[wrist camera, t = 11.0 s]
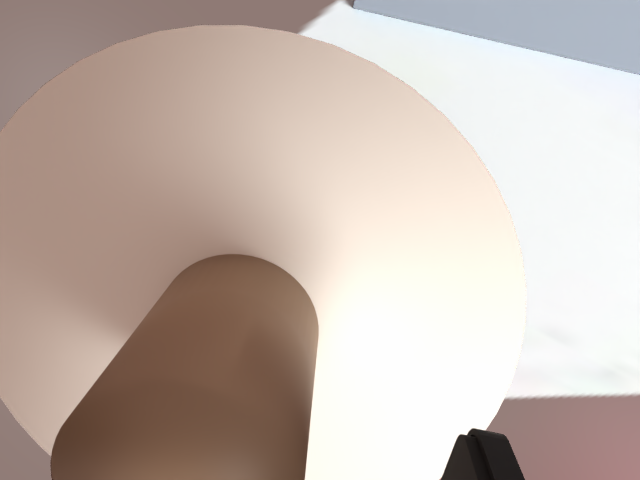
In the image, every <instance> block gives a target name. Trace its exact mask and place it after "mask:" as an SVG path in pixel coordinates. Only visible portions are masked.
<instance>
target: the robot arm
mask: <svg viewBox="0 0 640 480" xmlns="http://www.w3.org/2000/svg"><path fill="white" fill-rule="evenodd" d="M441 480H525V479H524V477H523V474H522V472H521V469H520V467H519V464H518V462H517V460H516V457H515V455H514V453H513V450H512V448H511V445H510V443H509V441H508V439H507V437H506V436H505V435H503V434H499V433H495V432H490V431H485V430H480V429H476V428H472V429H471V430H470V431H469V432H468V434H467V435H464V434H460V435H459V436H458V437H457V439H456V442H455V444H454V447H453V449H452V452H451V455H450V457H449V460H448V462H447V465H446V468H445V470H444V473H443V475H442V478H441Z"/></svg>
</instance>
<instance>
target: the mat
mask: <svg viewBox="0 0 640 480" xmlns="http://www.w3.org/2000/svg"><path fill="white" fill-rule="evenodd" d="M353 8H354V9H358V10H363V11H367V12H371V13H376V14H380V15H384V16H389V17H393V18H397V19H401V20H406V21H410V22H414V23H419V24H423V25H427V26H432V27H436V28H440V29H445V30H449V31H453V32H458V33H462V34H466V35H470V36H475V37H479V38H483V39H488V40H492V41H496V42H501V43H505V44H509V45H514V46H518V47H522V48H527V49H531V50H535V51H539V52H544V53H548V54H552V55H557V56H561V57H565V58H570V59H574V60H578V61H583V62H587V63H591V64H595V65H600V66H604V67H608V68H613V69H617V70H621V71H626V72H630V73H634V74H639V75H640V0H355V1H354V6H353Z"/></svg>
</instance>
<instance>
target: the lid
mask: <svg viewBox="0 0 640 480" xmlns="http://www.w3.org/2000/svg"><path fill="white" fill-rule="evenodd" d="M525 323H526V281H525V274H524V266H523V259H522V252H521V248H520V245H519V241H518V238H517V234H516V231H515V228H514V224H513V221H512V218H511V215H510V212H509V210H508V208H507V206H506V204H505V202H504V200H503V197H502V195H501V193H500V191H499V189H498V187H497V184H496V182H495V180H494V179H493V177H492V176H491V174H490V173H489V171H488V169H487V168H486V166H485V165H484V163H483V162H482V160H481V159H480V157H479V156H478V154H477V153H476V151H475V150H474V148H473V147H472V145H471V144H470V143H469V142H468V141H467V140H466V139H465V138H464V136H463V135H462V134H461V133H460V132H459V131H458V130H457V129H456V127H455V126H454V125H453V124H452V123H451V122H450V121H449V119H448V118H447V117H446V116H445V115H444V114H443V113H442V112H440V111H439V110H438V109H437V108H436V107H434V106H433V105H432V104H431V103H430V102H429V101H427V100H426V99H425V98H424V97H423V96H422V95H420V94H419V93H418V92H417V91H416V90H415V89H413V88H412V87H411V86H409V85H408V84H406V83H404V82H403V81H401V80H400V79H398V78H397V77H395V76H393V75H392V74H390V73H389V72H387V71H385V70H384V69H382V68H381V67H379V66H378V65H376V64H374V63H372V62H370V61H368V60H366V59H363V58H361V57H359V56H357V55H355V54H352V53H350V52H348V51H346V50H344V49H341V48H339V47H337V46H335V45H332V44H329V43H325V42H322V41H319V40H315V39H312V38H309V37H305V36H302V35H298V34H295V33H291V32H286V31H280V30H273V29H266V28H260V27H252V26H246V25H198V26H191V27H184V28H176V29H169V30H162V31H156V32H153V33H149V34H146V35H142V36H139V37H136V38H132V39H129V40H125V41H122V42H119V43H116V44H113V45H111V46H109V47H107V48H105V49H103V50H101V51H99V52H96V53H94V54H92V55H90V56H88V57H86V58H84V59H81V60H80V61H78V62H76V63H75V64H73V65H72V66H70V67H69V68H67V69H66V70H64V71H63V72H61V73H60V74H58V75H57V76H55V77H54V78H53V79H51V80H50V81H48V82H47V83H45V84H44V85H43V86H42V87H41V88H40V89H39V90H38V91H37V92H36V93H35V94H34V95H33V96H31V98H29V99H28V100H27V101H26V102H25V103H24V104H23V105H22V106H21V107H20V108H19V109H18V110H17V111H16V112H15V114H14V115H13V116H12V117H11V119H10V120H9V121H8V123H7V124H6V125H5V127H4V128H3V129H2V130H1V132H0V397H1V399H2V400H3V402H4V403H5V404H6V406H7V407H8V409H9V410H10V412H11V413H12V414H13V416H14V417H15V419H16V420H17V421H18V422H19V424H21V426H22V427H23V428H24V429H25V430H26V431H27V432H28V434H29V435H30V436H31V437H32V438H33V439H34V440H35V441H36V442H37V444H38V445H39V446H40V447H41V448H43V449H44V450H45V451H46V452H47V453H48V454H49V455H50V456H51V477H52V480H439V479H440V478H441V477H442V475H443V473H444V470H445V468H446V465H447V462H448V460H449V457H450V455H451V452H452V449H453V447H454V444H455V442H456V439H457V437H458V436H459V435H460V434H464V435H467V434H468V432H469V431H470V430H471V429H472V428H476V429H480V430H486V428H487V427H488V425H489V424H490V422H491V421H492V419H493V418H494V416H495V415H496V414H497V411H498V410H499V407H500V405H501V403H502V401H503V399H504V397H505V395H506V393H507V391H508V389H509V387H510V385H511V382H512V379H513V376H514V372H515V369H516V366H517V363H518V360H519V357H520V354H521V347H522V341H523V335H524V329H525Z"/></svg>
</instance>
